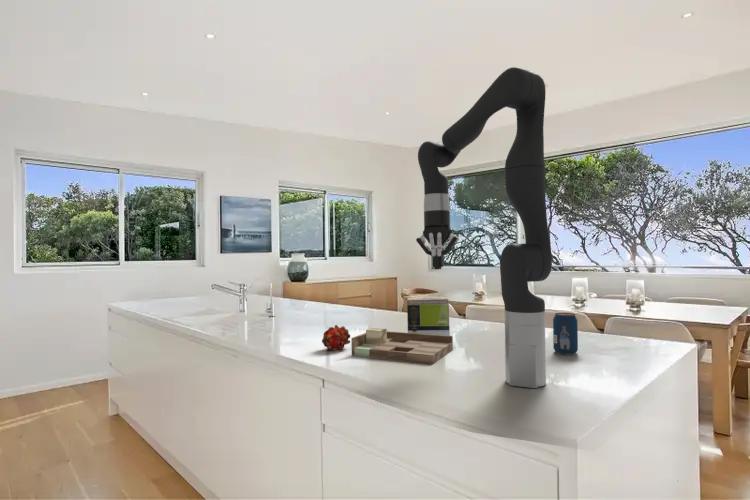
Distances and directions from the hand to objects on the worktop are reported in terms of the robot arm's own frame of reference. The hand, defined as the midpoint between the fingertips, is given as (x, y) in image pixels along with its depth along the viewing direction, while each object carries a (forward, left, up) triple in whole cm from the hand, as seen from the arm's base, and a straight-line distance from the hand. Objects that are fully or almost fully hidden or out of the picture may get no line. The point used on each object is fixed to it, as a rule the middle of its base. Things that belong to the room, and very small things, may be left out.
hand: (438, 269), depth 135 cm
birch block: (+4, +22, -24) cm, 33 cm away
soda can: (+23, -33, -27) cm, 48 cm away
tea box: (+31, +14, -27) cm, 43 cm away
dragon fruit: (0, +35, -27) cm, 44 cm away
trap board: (+4, +13, -26) cm, 30 cm away
